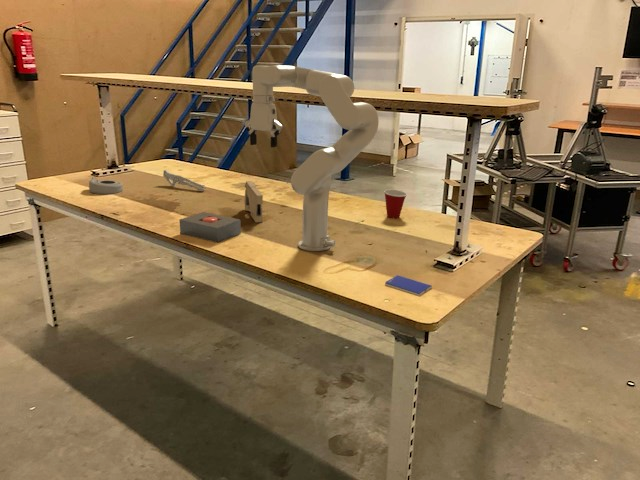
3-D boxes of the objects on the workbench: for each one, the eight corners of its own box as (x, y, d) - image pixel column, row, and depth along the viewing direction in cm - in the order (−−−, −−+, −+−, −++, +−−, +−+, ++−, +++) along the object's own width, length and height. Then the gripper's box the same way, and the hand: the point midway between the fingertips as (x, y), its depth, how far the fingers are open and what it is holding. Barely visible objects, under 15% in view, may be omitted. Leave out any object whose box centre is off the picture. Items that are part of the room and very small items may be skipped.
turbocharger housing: (119, 197, 269) (125, 190, 283) (119, 184, 267) (124, 178, 281) (85, 195, 266) (92, 188, 280) (84, 182, 264) (91, 176, 278)
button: (220, 225, 210) (220, 218, 210) (210, 229, 206) (210, 222, 205) (209, 223, 213) (209, 216, 212) (199, 226, 208) (199, 219, 207)
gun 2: (243, 208, 248) (243, 178, 242) (250, 208, 249) (250, 178, 243) (255, 227, 227) (256, 195, 221) (263, 227, 228) (263, 194, 222)
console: (240, 233, 211) (240, 219, 210) (217, 242, 200) (217, 228, 198) (204, 225, 221) (203, 211, 219) (180, 233, 209) (179, 219, 208)
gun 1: (165, 182, 293) (165, 169, 290) (205, 198, 281) (206, 185, 278) (162, 182, 292) (163, 169, 289) (202, 199, 280) (203, 186, 277)
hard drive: (385, 282, 165) (419, 293, 158) (398, 274, 171) (432, 284, 164) (384, 286, 166) (419, 297, 158) (397, 279, 172) (431, 289, 164)
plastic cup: (403, 221, 235) (405, 195, 231) (380, 218, 238) (381, 193, 234) (406, 215, 245) (409, 190, 241) (384, 212, 248) (386, 188, 244)
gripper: (287, 101, 192) (287, 147, 198) (250, 98, 201) (251, 142, 206) (276, 101, 186) (276, 149, 192) (238, 99, 194) (239, 144, 200)
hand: (263, 145), depth 199 cm, fingers open, 9 cm apart
